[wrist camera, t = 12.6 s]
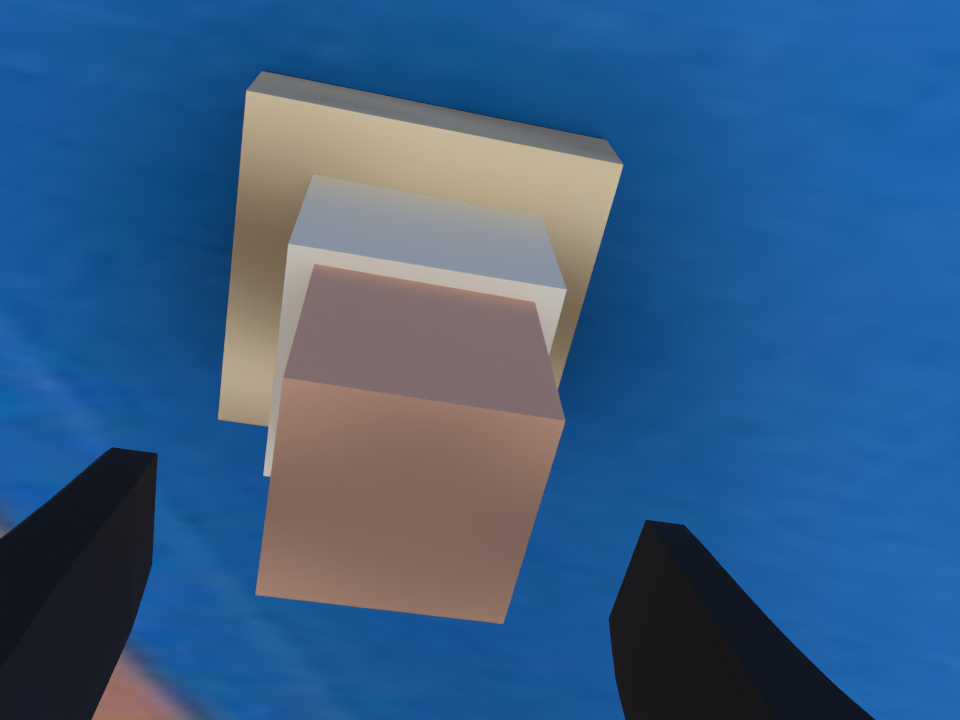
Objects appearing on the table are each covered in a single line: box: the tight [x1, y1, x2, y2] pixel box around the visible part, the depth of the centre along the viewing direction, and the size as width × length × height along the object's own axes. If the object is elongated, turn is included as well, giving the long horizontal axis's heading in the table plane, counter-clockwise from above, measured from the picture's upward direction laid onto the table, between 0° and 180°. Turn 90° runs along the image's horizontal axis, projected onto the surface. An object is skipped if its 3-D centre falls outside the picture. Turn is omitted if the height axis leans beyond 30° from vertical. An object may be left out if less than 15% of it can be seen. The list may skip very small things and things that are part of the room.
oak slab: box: [218, 71, 623, 427], centre depth 21 cm, size 8×8×2 cm
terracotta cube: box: [255, 264, 565, 624], centre depth 15 cm, size 4×4×4 cm
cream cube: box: [263, 174, 567, 477], centre depth 19 cm, size 5×5×4 cm
